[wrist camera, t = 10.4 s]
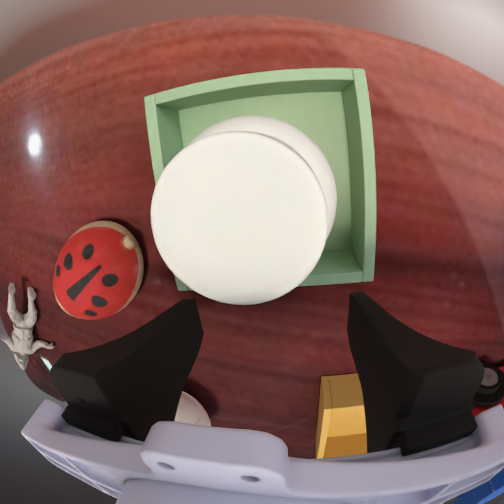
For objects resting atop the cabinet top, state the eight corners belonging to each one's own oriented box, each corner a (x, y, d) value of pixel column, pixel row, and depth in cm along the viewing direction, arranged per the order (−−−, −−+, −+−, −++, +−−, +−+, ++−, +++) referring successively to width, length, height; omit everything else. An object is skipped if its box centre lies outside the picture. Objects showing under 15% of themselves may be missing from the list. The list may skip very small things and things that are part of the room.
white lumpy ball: (133, 366, 23) (96, 426, 16) (208, 372, 21) (181, 448, 14) (161, 416, 26) (137, 470, 18) (227, 423, 24) (212, 486, 17)
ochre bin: (434, 360, 19) (447, 388, 15) (406, 424, 22) (412, 448, 19) (321, 376, 20) (323, 409, 17) (315, 436, 24) (316, 463, 21)
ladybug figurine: (55, 267, 20) (29, 285, 17) (109, 190, 17) (76, 203, 13) (103, 324, 21) (82, 349, 18) (171, 266, 18) (148, 292, 15)
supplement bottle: (283, 241, 16) (273, 361, 7) (201, 194, 16) (101, 262, 7) (334, 162, 14) (406, 191, 5) (248, 111, 13) (184, 62, 5)
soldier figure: (61, 301, 23) (53, 386, 24) (57, 280, 26) (47, 361, 27) (-6, 287, 17) (-4, 379, 18) (-2, 267, 20) (-4, 353, 21)
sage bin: (348, 83, 13) (364, 68, 9) (358, 255, 16) (373, 281, 13) (171, 104, 14) (143, 96, 11) (196, 264, 18) (177, 291, 15)
